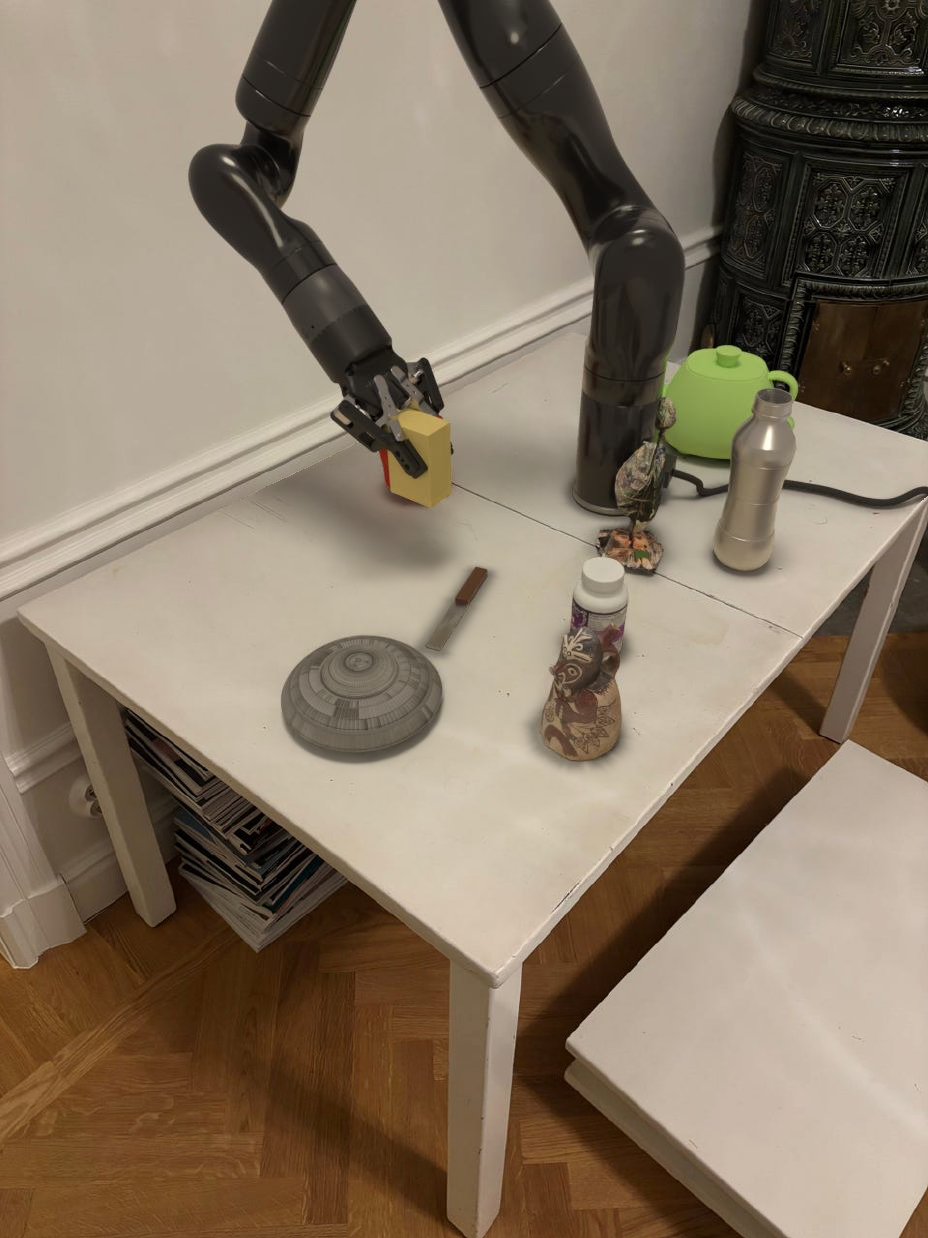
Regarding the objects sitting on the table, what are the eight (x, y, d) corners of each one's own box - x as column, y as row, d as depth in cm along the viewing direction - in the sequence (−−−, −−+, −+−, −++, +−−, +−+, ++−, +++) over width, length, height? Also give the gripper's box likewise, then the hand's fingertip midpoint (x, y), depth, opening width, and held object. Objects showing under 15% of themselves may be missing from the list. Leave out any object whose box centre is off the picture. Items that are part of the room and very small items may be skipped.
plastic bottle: (736, 584, 102) (773, 417, 89) (697, 552, 107) (726, 389, 94) (781, 568, 104) (824, 402, 92) (741, 537, 109) (776, 376, 96)
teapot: (613, 456, 124) (622, 362, 116) (631, 405, 135) (641, 316, 127) (786, 480, 119) (809, 383, 110) (790, 425, 130) (811, 334, 122)
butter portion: (411, 477, 103) (407, 406, 97) (452, 493, 100) (450, 421, 95) (390, 491, 101) (385, 419, 95) (431, 508, 98) (428, 435, 93)
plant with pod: (676, 529, 111) (702, 369, 98) (652, 583, 102) (678, 416, 90) (609, 514, 113) (626, 357, 100) (581, 566, 105) (596, 401, 92)
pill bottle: (564, 629, 97) (570, 553, 90) (615, 626, 97) (625, 550, 91) (573, 665, 92) (580, 587, 86) (627, 661, 93) (637, 584, 87)
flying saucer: (381, 787, 81) (376, 744, 77) (249, 722, 87) (239, 678, 83) (472, 684, 90) (472, 641, 87) (348, 632, 97) (343, 590, 93)
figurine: (531, 710, 88) (536, 610, 80) (603, 698, 89) (615, 598, 81) (554, 767, 82) (562, 665, 75) (630, 753, 83) (646, 652, 76)
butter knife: (474, 572, 104) (474, 565, 104) (488, 575, 104) (488, 569, 103) (425, 647, 95) (425, 640, 94) (440, 650, 94) (439, 644, 94)
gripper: (303, 328, 88) (409, 480, 90) (400, 283, 96) (496, 423, 98) (271, 367, 94) (372, 509, 96) (366, 321, 102) (456, 453, 104)
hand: (434, 465), depth 97 cm, fingers closed on butter portion, 3 cm apart
